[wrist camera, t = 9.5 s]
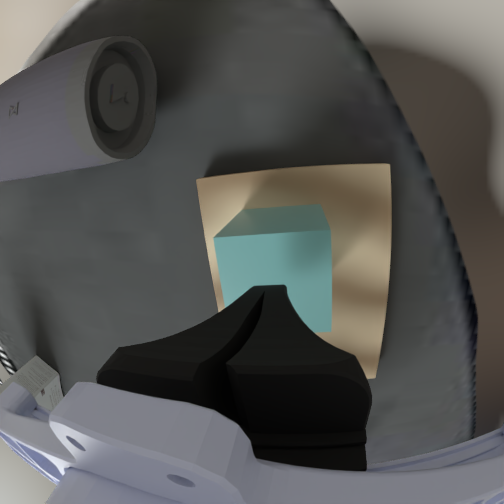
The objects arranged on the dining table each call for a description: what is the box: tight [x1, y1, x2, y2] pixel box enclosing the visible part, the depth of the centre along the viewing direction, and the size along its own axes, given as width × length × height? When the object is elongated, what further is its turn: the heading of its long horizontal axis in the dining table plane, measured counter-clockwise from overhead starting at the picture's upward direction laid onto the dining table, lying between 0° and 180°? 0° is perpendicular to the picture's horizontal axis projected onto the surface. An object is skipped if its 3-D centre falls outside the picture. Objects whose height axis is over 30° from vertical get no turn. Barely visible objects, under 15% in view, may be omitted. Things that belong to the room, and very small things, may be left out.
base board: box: [196, 163, 392, 379], centre depth 21 cm, size 18×13×2 cm
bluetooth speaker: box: [0, 36, 157, 181], centre depth 16 cm, size 23×9×10 cm, turn 88°
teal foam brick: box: [213, 204, 332, 333], centre depth 16 cm, size 5×5×7 cm
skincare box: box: [0, 355, 64, 412], centre depth 28 cm, size 8×6×15 cm
